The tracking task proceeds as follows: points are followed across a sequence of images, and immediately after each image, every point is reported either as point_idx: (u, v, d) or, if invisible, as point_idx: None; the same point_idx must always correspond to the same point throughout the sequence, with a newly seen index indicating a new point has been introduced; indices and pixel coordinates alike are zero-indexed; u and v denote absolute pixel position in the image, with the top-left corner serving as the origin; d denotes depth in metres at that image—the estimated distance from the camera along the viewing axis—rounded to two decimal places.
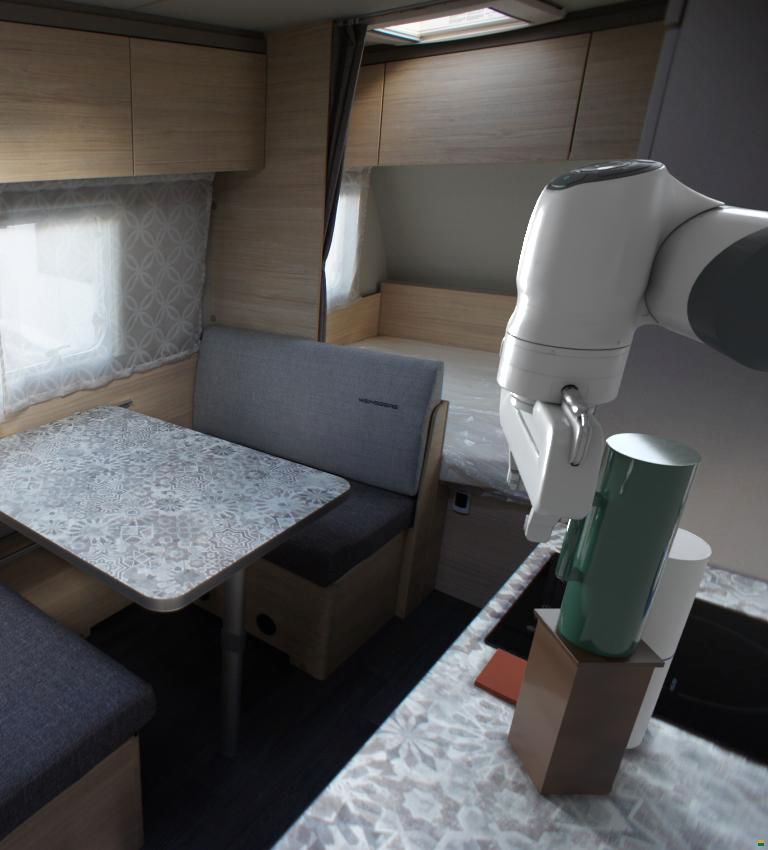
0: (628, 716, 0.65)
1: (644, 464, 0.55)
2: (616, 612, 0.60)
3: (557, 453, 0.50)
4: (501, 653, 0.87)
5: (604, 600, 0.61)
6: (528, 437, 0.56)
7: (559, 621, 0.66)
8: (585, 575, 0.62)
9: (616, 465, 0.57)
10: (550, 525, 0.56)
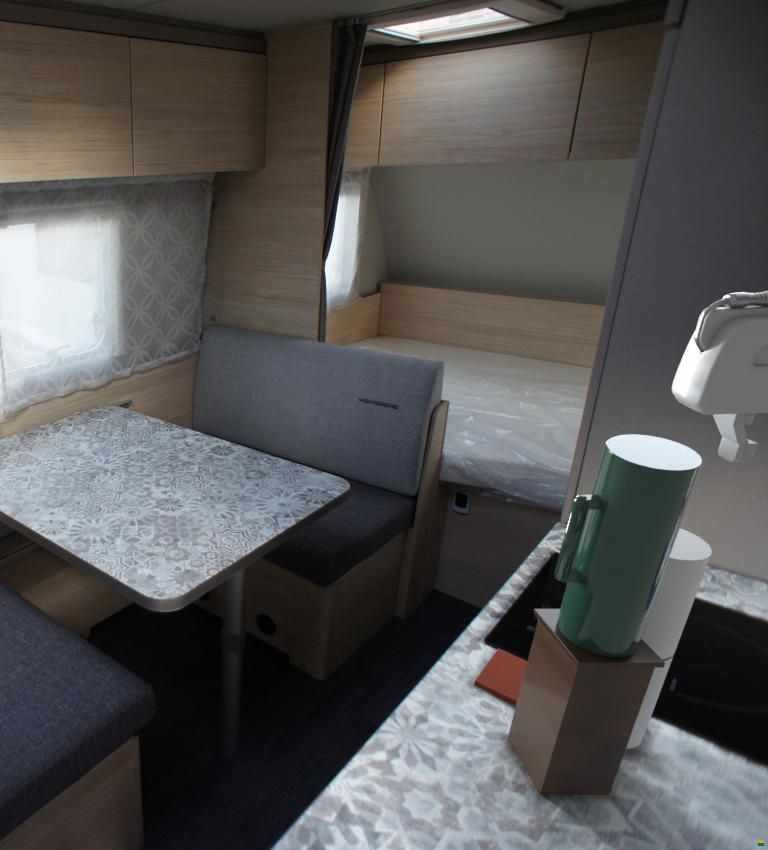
0: (628, 716, 0.65)
1: (643, 468, 0.55)
2: (615, 613, 0.60)
3: None
4: (501, 653, 0.87)
5: (603, 602, 0.61)
6: None
7: (559, 620, 0.66)
8: (584, 577, 0.61)
9: (615, 469, 0.57)
10: (735, 441, 0.53)
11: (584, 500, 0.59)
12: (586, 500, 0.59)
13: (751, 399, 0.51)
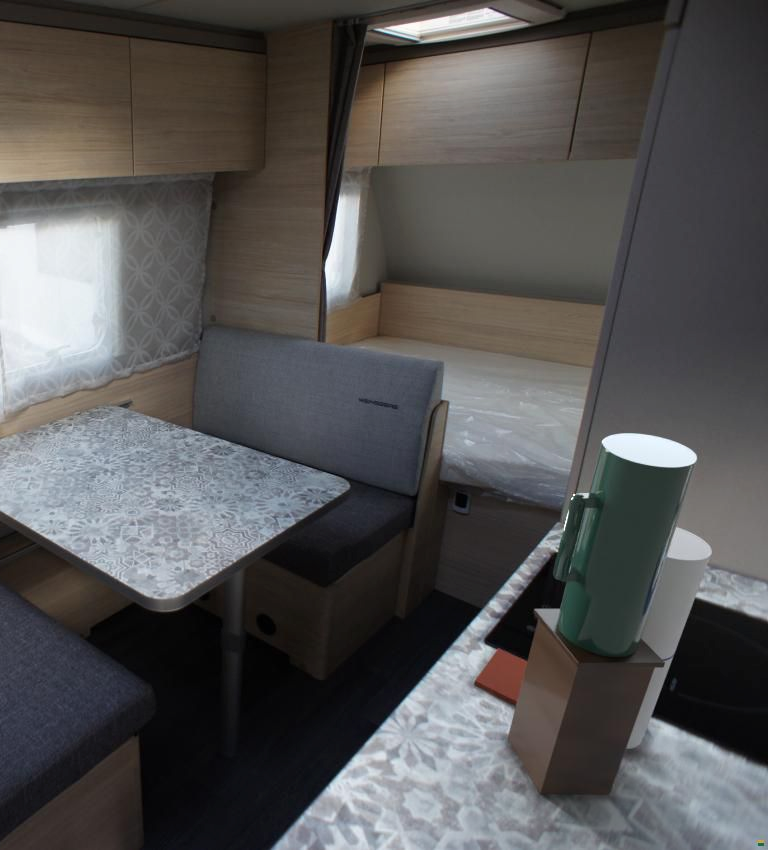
0: (628, 716, 0.65)
1: (639, 466, 0.55)
2: (614, 612, 0.60)
3: None
4: (501, 653, 0.87)
5: (601, 601, 0.61)
6: None
7: (559, 620, 0.66)
8: (583, 576, 0.62)
9: (611, 467, 0.57)
10: None
11: (581, 498, 0.59)
12: (583, 498, 0.59)
13: None
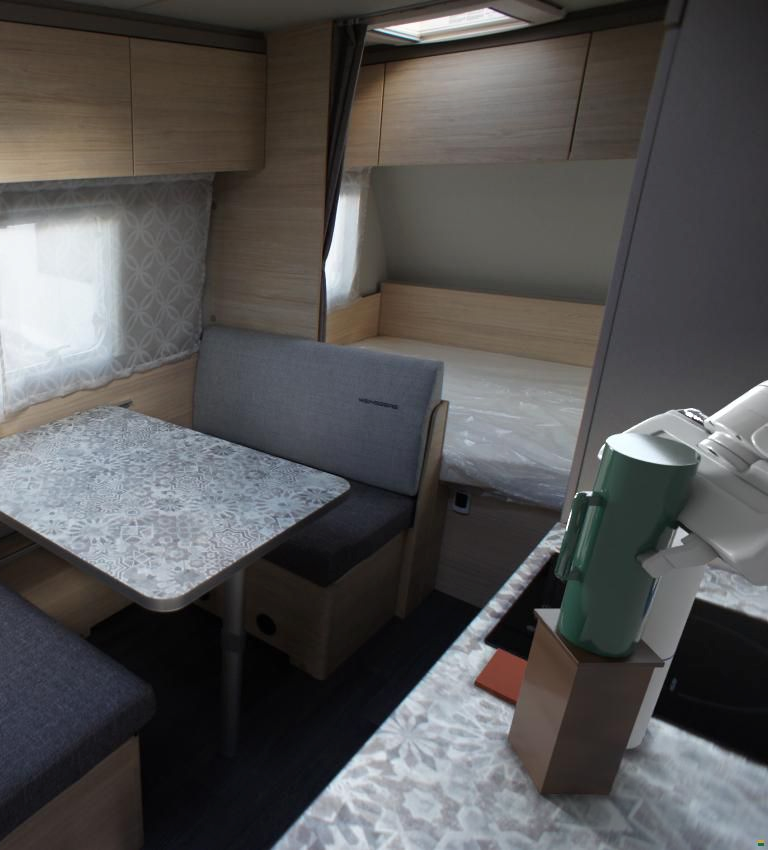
0: (628, 716, 0.65)
1: (643, 463, 0.55)
2: (615, 611, 0.61)
3: None
4: (501, 653, 0.87)
5: (603, 600, 0.61)
6: None
7: (559, 621, 0.66)
8: (584, 575, 0.62)
9: (616, 465, 0.57)
10: None
11: (584, 496, 0.59)
12: (586, 496, 0.59)
13: None
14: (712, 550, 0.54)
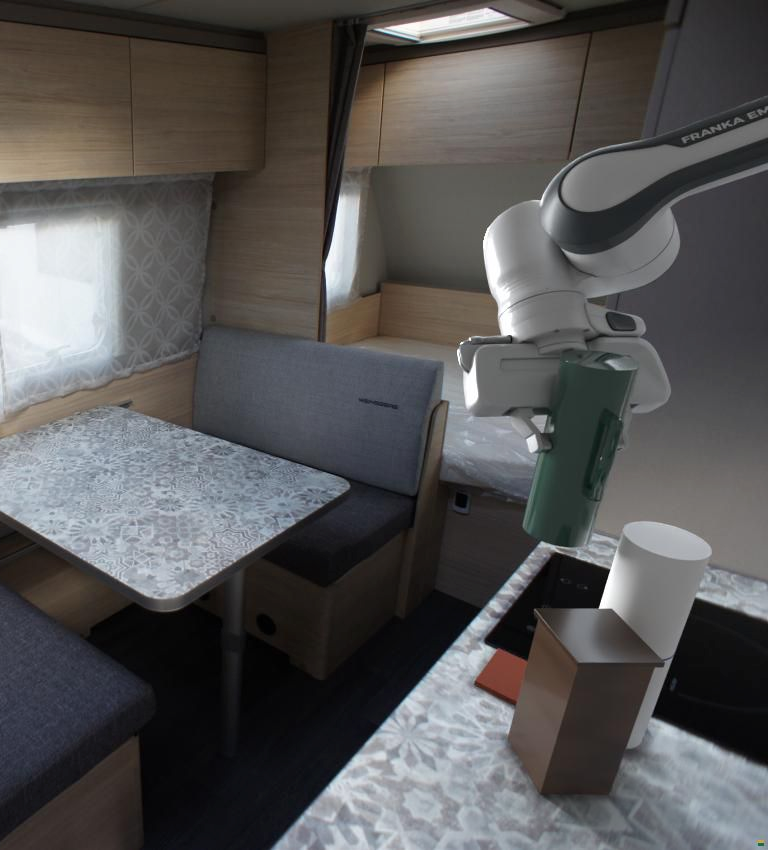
0: (628, 716, 0.65)
1: (639, 368, 0.65)
2: None
3: (464, 371, 0.75)
4: (501, 653, 0.87)
5: None
6: None
7: (566, 541, 0.71)
8: None
9: (627, 381, 0.64)
10: (531, 433, 0.70)
11: (622, 420, 0.64)
12: (622, 419, 0.64)
13: (513, 393, 0.71)
14: None
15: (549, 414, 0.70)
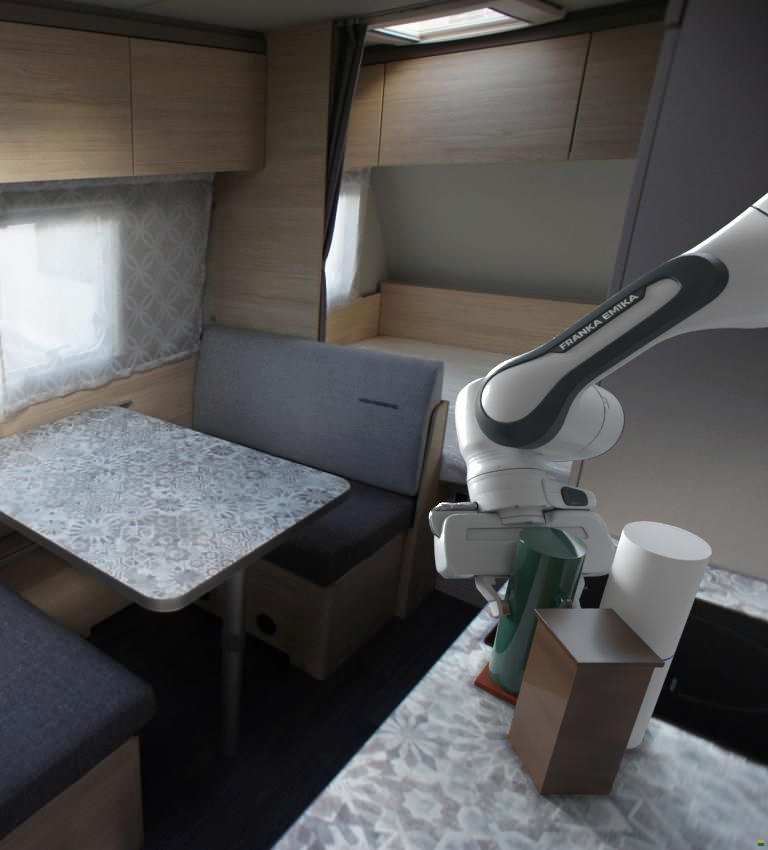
0: (628, 716, 0.65)
1: (586, 553, 0.73)
2: None
3: None
4: None
5: None
6: None
7: None
8: None
9: (575, 566, 0.73)
10: (493, 599, 0.79)
11: (570, 601, 0.73)
12: (570, 600, 0.73)
13: (477, 563, 0.79)
14: None
15: (509, 582, 0.78)
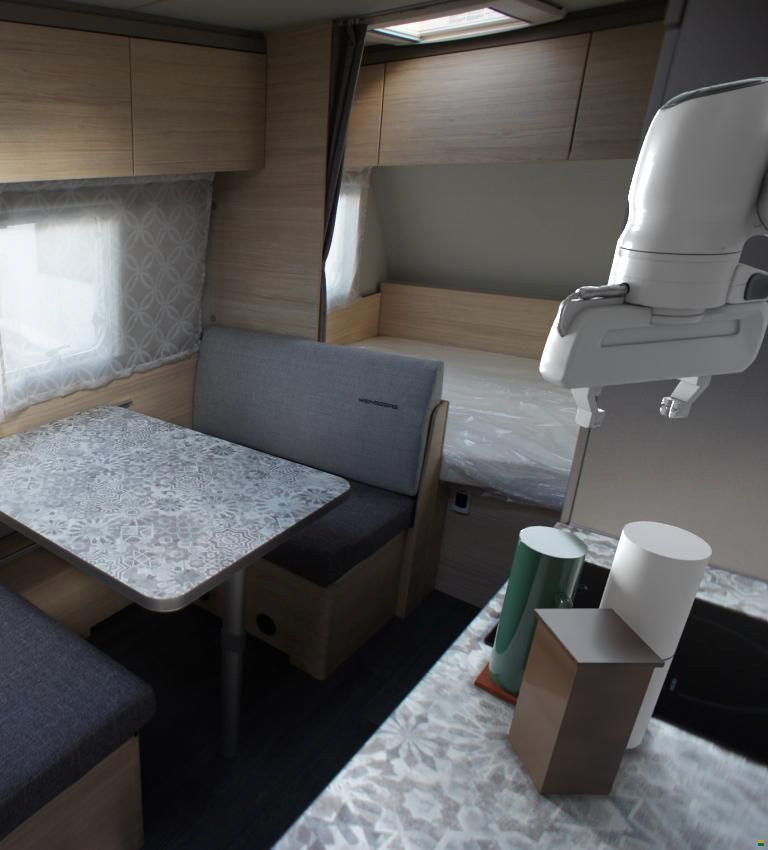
0: (628, 716, 0.65)
1: (586, 553, 0.73)
2: None
3: (555, 325, 0.62)
4: None
5: None
6: None
7: None
8: None
9: (575, 566, 0.73)
10: (588, 410, 0.64)
11: (571, 601, 0.73)
12: (570, 600, 0.73)
13: (600, 375, 0.61)
14: None
15: (509, 582, 0.78)
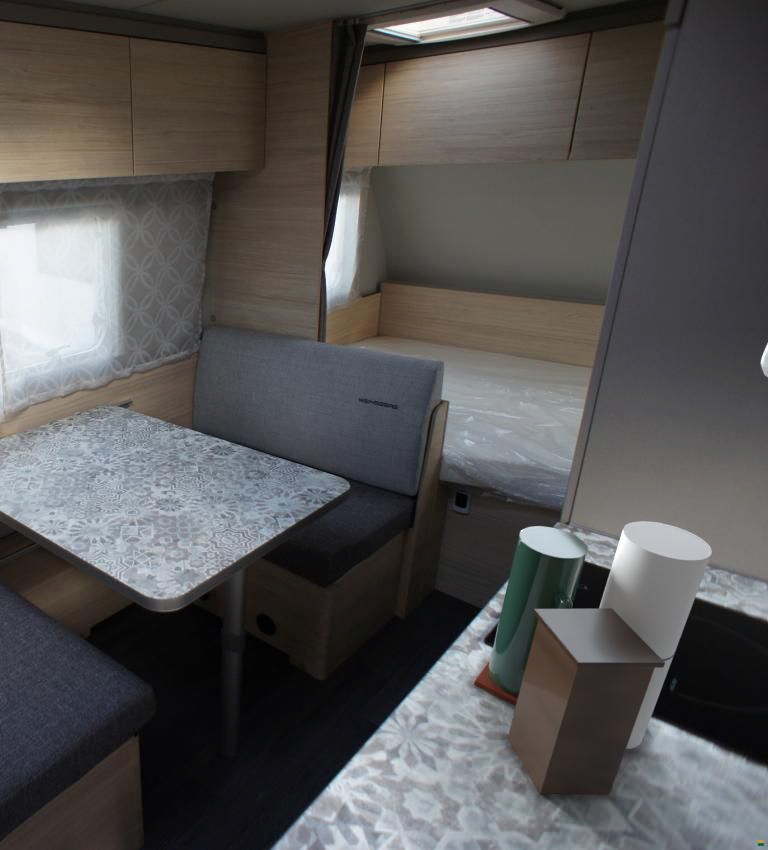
0: (628, 716, 0.65)
1: (586, 553, 0.73)
2: None
3: None
4: None
5: None
6: None
7: None
8: None
9: (575, 566, 0.73)
10: None
11: (571, 601, 0.73)
12: (570, 600, 0.73)
13: None
14: None
15: (509, 582, 0.78)
